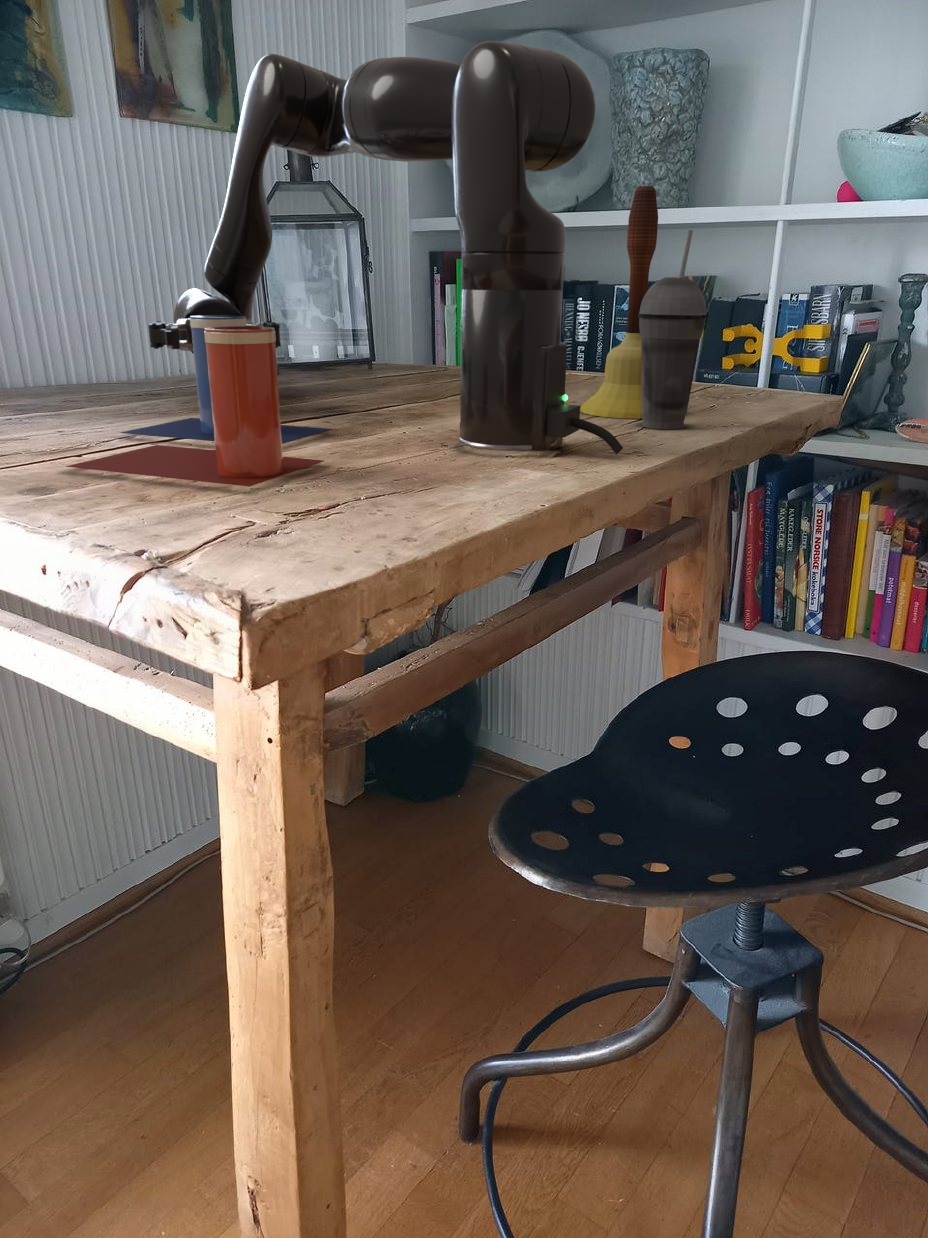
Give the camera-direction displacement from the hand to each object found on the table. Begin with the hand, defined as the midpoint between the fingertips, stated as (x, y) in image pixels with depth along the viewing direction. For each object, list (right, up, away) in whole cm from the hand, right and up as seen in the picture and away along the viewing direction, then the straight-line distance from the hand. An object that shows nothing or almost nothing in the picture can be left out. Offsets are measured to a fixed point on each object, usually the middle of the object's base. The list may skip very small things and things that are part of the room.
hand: (216, 338), depth 97 cm
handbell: (+47, -5, +14) cm, 49 cm away
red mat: (+4, -18, -21) cm, 28 cm away
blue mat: (+3, -12, -5) cm, 13 cm away
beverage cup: (+49, -9, +3) cm, 50 cm away
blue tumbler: (+3, -11, -5) cm, 13 cm away
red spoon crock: (+10, -18, -24) cm, 32 cm away
